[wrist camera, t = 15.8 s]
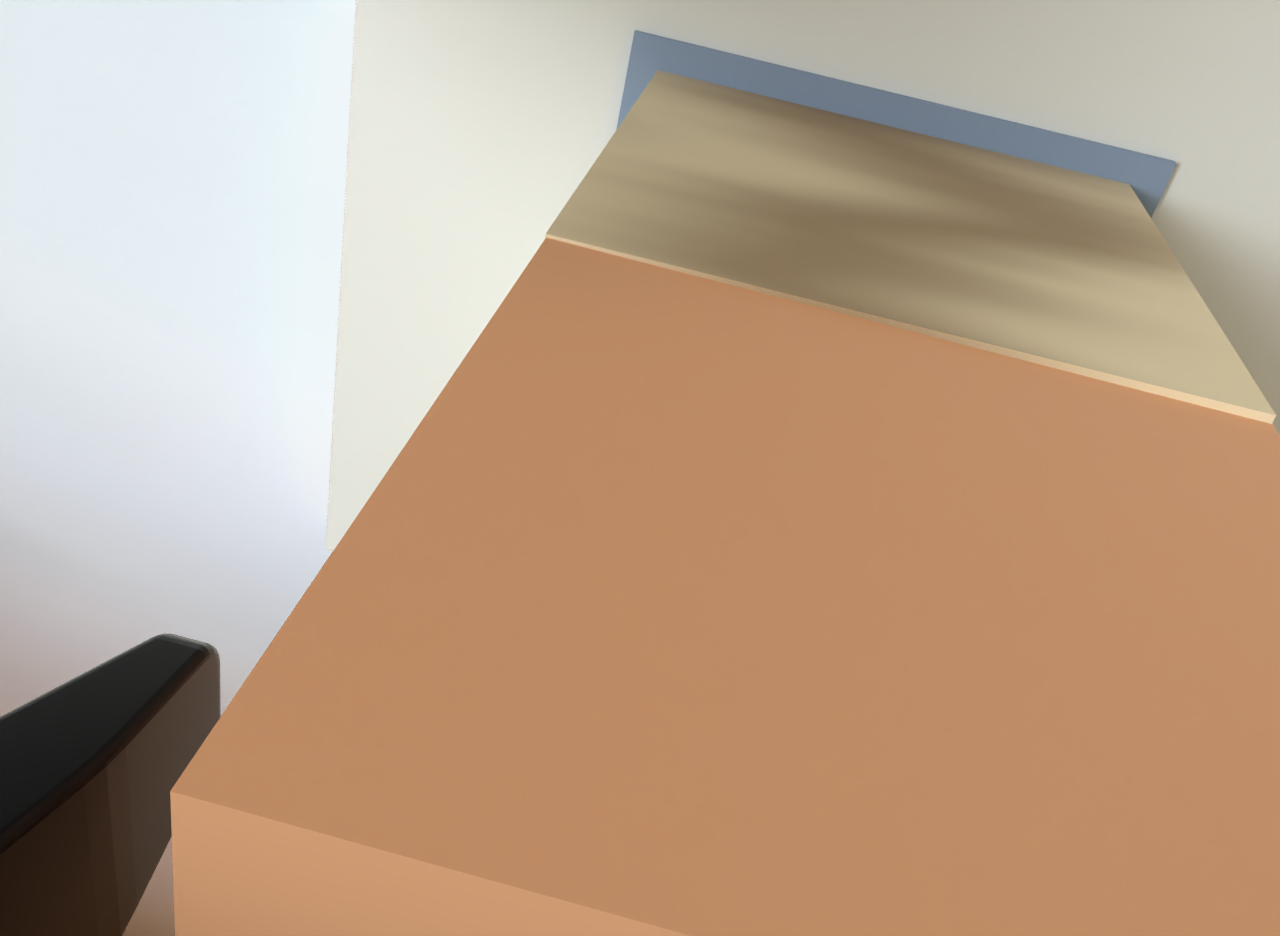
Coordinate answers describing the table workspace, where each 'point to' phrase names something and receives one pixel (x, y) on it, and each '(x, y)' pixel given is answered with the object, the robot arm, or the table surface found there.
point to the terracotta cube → (764, 647)
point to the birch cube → (906, 237)
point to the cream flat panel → (787, 70)
